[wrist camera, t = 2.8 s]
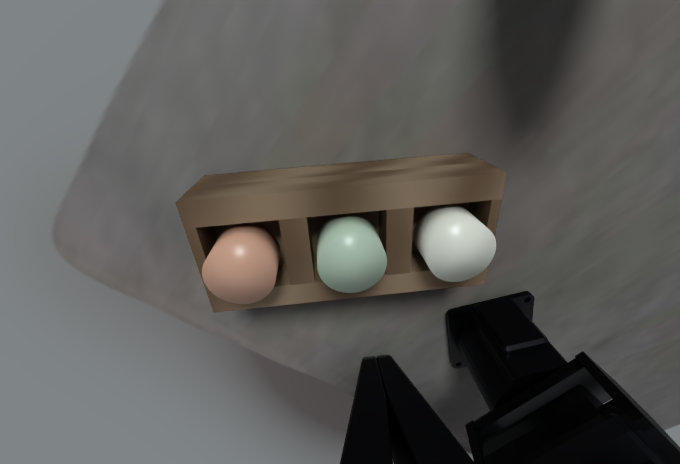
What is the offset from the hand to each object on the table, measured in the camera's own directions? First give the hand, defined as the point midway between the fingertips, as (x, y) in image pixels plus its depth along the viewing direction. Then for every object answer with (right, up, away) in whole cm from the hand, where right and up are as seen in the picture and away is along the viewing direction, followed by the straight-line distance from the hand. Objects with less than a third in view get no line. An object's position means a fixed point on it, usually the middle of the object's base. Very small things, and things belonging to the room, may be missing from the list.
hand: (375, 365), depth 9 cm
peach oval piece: (-6, +3, +6) cm, 9 cm away
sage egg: (-1, +4, +7) cm, 8 cm away
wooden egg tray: (-1, +5, +9) cm, 11 cm away
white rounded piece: (+4, +4, +7) cm, 9 cm away
